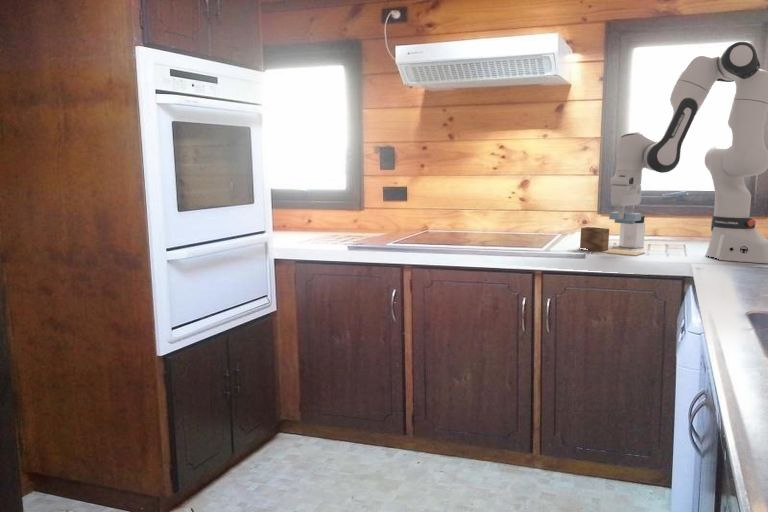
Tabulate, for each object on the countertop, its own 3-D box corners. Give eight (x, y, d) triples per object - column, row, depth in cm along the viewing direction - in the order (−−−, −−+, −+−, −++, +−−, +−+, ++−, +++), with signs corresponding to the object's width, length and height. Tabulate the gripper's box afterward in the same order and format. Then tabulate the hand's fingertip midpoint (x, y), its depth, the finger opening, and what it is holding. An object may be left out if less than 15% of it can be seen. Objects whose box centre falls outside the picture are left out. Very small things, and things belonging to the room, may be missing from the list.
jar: (616, 246, 268) (618, 215, 266) (621, 244, 275) (623, 213, 273) (641, 248, 263) (643, 216, 262) (645, 246, 271) (647, 215, 269)
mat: (644, 253, 252) (644, 252, 252) (636, 256, 245) (636, 255, 245) (611, 250, 259) (611, 249, 259) (602, 252, 252) (602, 251, 252)
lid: (640, 223, 250) (641, 213, 249) (634, 224, 245) (635, 214, 245) (615, 221, 256) (615, 211, 255) (608, 222, 251) (609, 212, 250)
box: (608, 250, 258) (609, 228, 257) (602, 252, 254) (604, 229, 253) (585, 248, 264) (586, 226, 262) (579, 249, 259) (580, 228, 258)
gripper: (629, 178, 258) (626, 215, 260) (608, 179, 242) (605, 219, 244) (647, 179, 254) (644, 217, 256) (626, 180, 238) (623, 220, 241)
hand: (625, 218), depth 250 cm, fingers closed on lid, 6 cm apart
